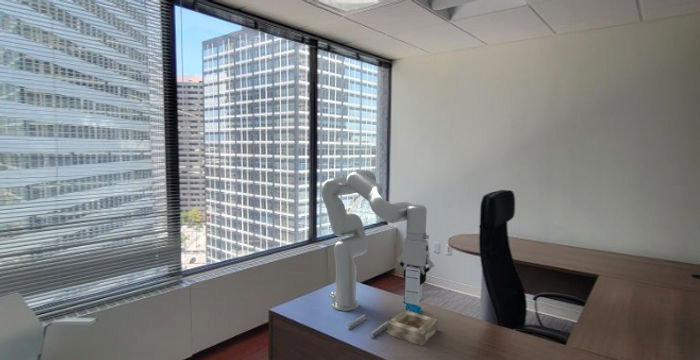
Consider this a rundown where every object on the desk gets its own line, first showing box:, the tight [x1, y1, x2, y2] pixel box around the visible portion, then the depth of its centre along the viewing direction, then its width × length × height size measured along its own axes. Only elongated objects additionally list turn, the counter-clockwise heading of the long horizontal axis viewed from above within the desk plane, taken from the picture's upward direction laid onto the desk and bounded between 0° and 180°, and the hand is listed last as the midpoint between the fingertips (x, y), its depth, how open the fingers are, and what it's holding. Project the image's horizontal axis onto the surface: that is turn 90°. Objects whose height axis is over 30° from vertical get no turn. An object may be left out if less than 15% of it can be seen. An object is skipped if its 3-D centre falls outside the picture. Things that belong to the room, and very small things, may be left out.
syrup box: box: [404, 265, 424, 306], centre depth 148 cm, size 6×6×14 cm
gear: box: [402, 296, 422, 314], centre depth 168 cm, size 11×6×10 cm
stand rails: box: [347, 313, 389, 339], centre depth 152 cm, size 12×12×2 cm
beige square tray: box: [386, 310, 439, 346], centre depth 150 cm, size 15×15×4 cm
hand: (414, 280), depth 148 cm, fingers closed on syrup box, 6 cm apart
